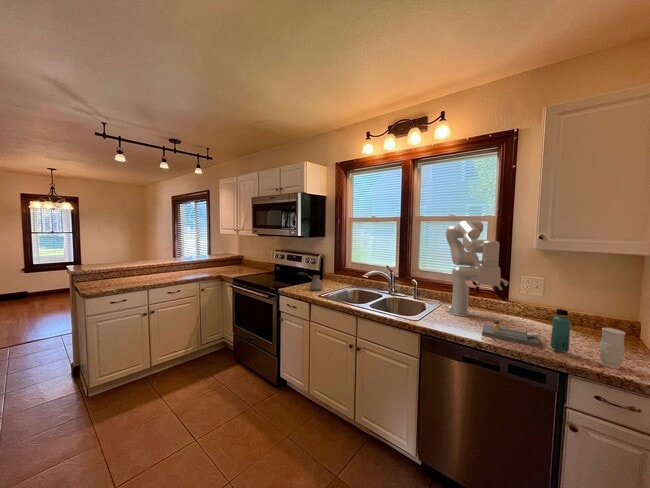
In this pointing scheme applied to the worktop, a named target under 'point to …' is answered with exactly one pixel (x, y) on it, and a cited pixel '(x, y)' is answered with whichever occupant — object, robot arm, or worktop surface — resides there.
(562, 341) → the beverage bottle
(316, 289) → the gray watering can
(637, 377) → the worktop surface
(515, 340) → the panel
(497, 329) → the brass slider
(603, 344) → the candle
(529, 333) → the block
